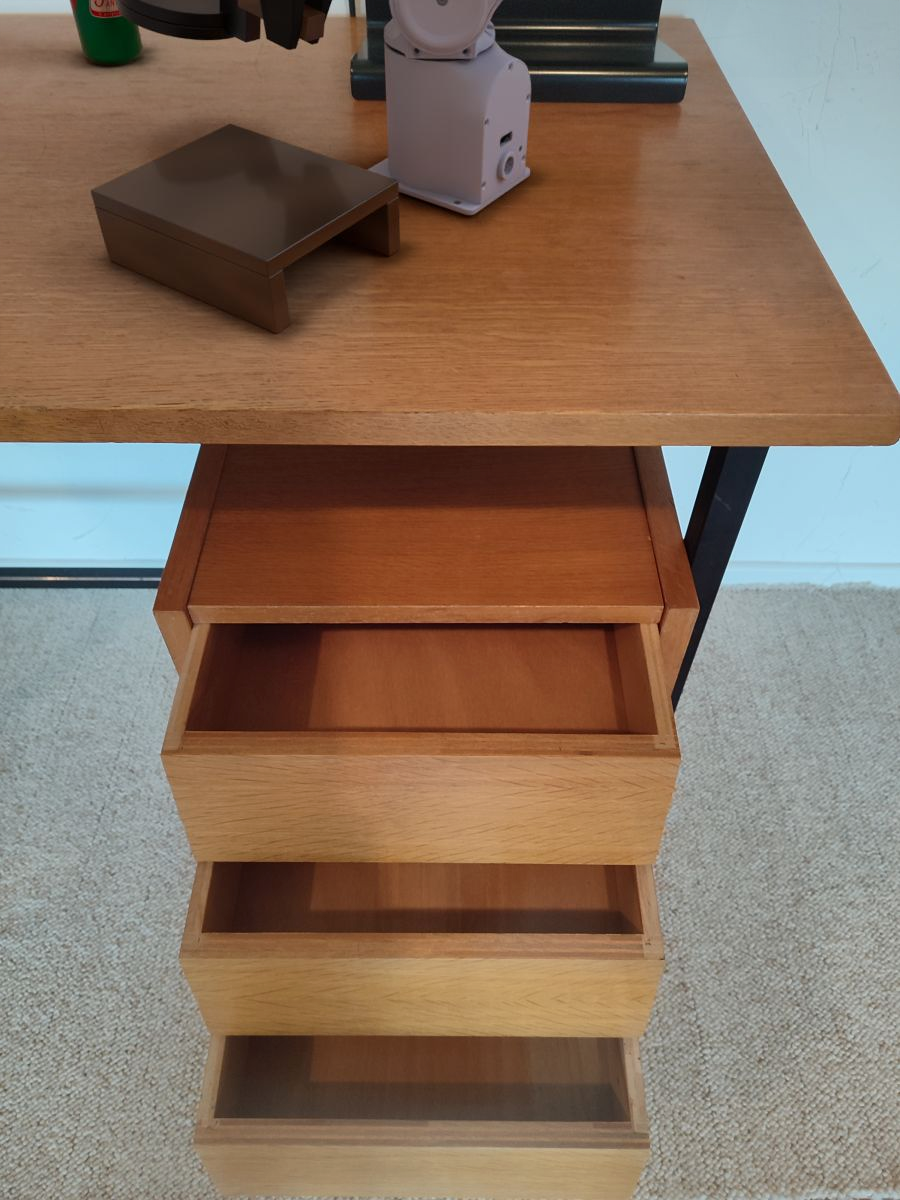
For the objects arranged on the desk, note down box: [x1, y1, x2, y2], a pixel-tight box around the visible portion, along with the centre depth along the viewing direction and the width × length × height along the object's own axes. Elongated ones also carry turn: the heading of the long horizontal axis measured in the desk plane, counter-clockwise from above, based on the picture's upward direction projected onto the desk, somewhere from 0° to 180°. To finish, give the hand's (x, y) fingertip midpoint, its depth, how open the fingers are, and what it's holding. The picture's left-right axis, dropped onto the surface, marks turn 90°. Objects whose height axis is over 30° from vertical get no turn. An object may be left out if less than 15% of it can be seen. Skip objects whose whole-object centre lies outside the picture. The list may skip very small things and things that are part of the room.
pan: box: [116, 0, 326, 44], centre depth 61 cm, size 16×9×4 cm, turn 54°
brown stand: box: [90, 123, 401, 334], centre depth 57 cm, size 14×12×4 cm
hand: (292, 40), depth 60 cm, fingers closed on pan
